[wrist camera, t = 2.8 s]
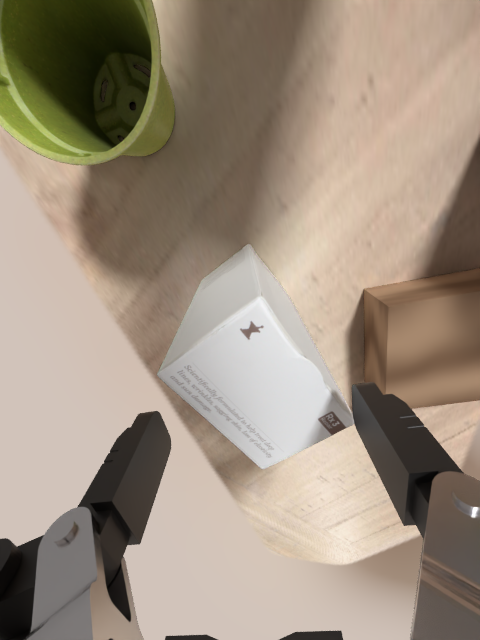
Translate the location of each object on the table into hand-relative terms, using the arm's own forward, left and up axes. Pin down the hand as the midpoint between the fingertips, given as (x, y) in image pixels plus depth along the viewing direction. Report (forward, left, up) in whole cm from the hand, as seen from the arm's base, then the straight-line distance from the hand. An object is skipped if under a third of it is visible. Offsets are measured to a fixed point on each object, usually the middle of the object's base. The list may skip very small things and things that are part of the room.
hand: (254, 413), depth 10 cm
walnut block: (+7, +16, -16) cm, 24 cm away
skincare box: (0, 0, -16) cm, 16 cm away
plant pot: (-16, -6, -16) cm, 23 cm away
